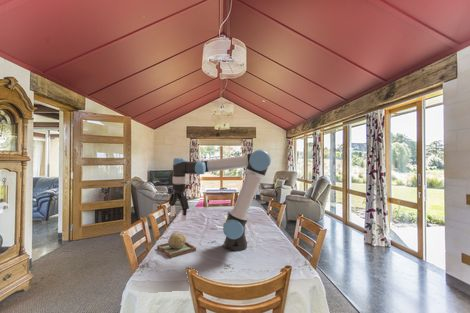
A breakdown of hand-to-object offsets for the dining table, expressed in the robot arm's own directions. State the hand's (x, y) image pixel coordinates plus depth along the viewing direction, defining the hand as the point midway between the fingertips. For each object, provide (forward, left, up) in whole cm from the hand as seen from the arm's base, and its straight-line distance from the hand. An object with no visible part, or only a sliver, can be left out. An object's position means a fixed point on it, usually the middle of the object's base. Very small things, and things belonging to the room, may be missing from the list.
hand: (178, 218), depth 145 cm
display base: (0, 0, -19) cm, 19 cm away
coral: (0, 0, -18) cm, 18 cm away
